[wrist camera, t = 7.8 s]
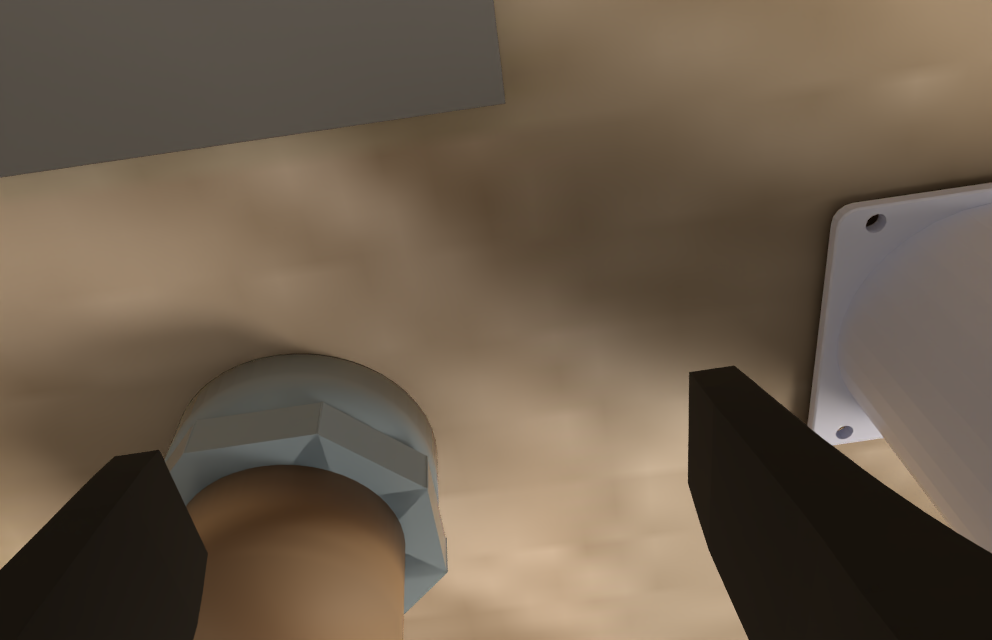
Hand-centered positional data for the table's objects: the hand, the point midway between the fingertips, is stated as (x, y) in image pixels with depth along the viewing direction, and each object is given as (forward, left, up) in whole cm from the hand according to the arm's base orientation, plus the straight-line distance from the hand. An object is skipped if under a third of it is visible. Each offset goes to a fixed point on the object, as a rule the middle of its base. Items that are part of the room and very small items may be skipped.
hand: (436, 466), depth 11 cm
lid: (+5, +8, -6) cm, 11 cm away
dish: (+5, +8, -10) cm, 14 cm away
